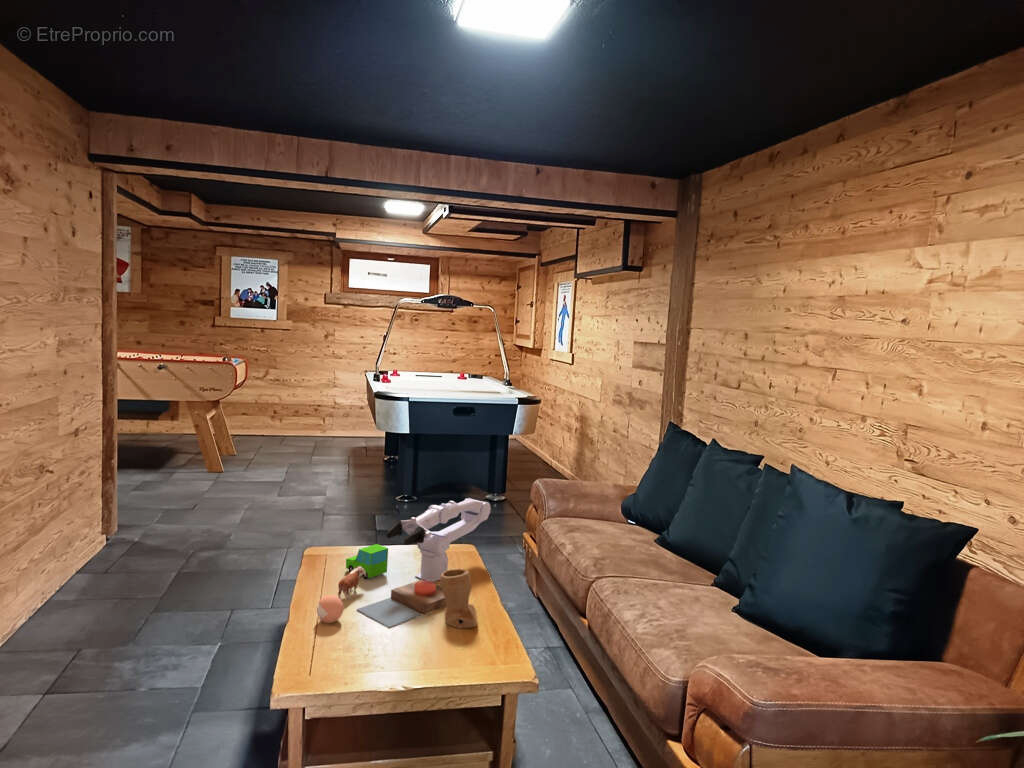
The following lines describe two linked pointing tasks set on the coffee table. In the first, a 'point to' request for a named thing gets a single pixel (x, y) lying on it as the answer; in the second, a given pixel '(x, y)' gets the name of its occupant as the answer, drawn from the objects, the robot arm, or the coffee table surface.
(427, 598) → the board
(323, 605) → the egg
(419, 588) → the red ball
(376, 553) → the toy car
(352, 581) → the bull figurine
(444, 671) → the coffee table surface
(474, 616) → the brown boot
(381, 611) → the mat
